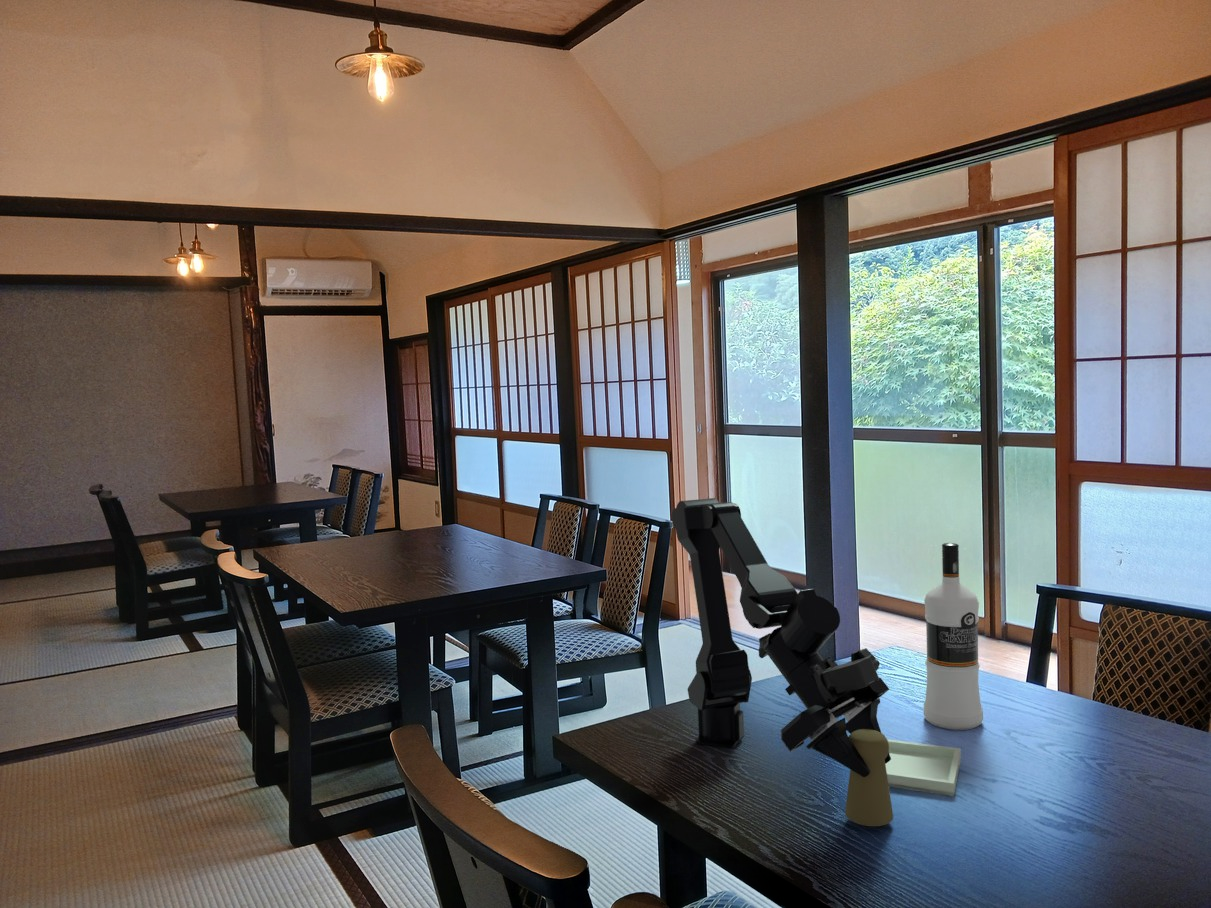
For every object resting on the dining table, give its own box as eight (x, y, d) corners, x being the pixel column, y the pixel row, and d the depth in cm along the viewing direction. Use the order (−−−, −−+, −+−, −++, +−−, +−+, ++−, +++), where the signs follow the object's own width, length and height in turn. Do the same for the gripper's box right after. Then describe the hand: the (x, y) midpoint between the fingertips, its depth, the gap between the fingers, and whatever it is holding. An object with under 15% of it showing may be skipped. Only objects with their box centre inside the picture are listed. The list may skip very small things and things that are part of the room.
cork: (895, 827, 113) (894, 743, 112) (846, 824, 114) (844, 741, 113) (890, 805, 119) (889, 724, 118) (843, 802, 120) (842, 722, 119)
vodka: (960, 708, 155) (957, 536, 153) (995, 727, 146) (993, 545, 144) (912, 715, 153) (909, 541, 151) (945, 735, 144) (942, 550, 142)
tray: (860, 782, 129) (859, 770, 128) (874, 748, 140) (873, 737, 140) (954, 796, 123) (953, 783, 123) (960, 760, 134) (960, 748, 134)
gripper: (799, 650, 111) (882, 761, 104) (875, 618, 124) (953, 715, 117) (748, 698, 117) (824, 805, 110) (826, 662, 130) (897, 756, 123)
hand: (878, 768), depth 115 cm, fingers closed on cork, 5 cm apart
